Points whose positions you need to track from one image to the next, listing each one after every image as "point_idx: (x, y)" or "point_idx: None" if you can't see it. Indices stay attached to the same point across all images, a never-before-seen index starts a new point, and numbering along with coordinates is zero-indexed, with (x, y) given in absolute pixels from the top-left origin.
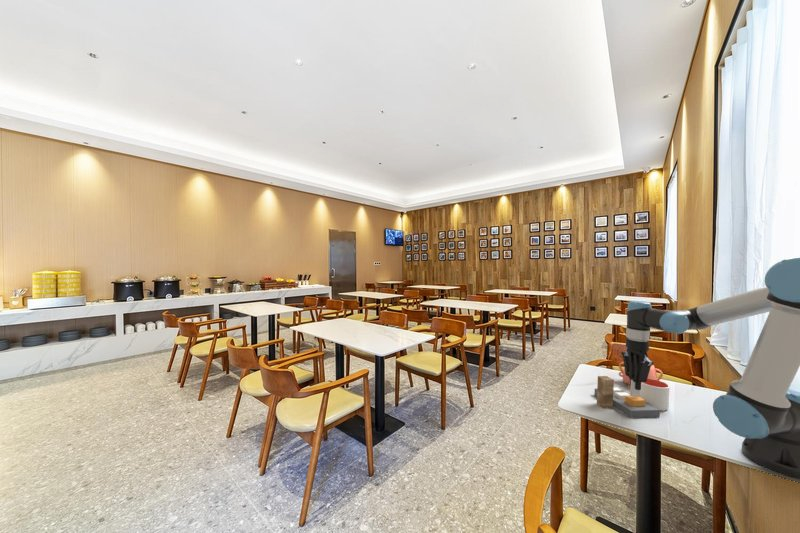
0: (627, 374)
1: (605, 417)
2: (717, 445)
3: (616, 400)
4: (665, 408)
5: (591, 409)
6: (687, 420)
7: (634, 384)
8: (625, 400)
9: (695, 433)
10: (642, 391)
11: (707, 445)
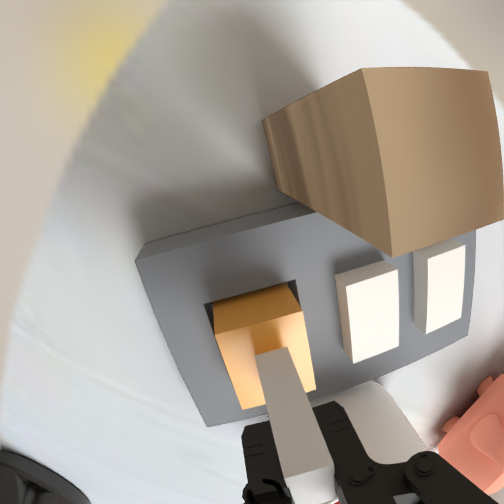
0: (413, 478)
1: (120, 74)
2: (42, 439)
3: (306, 232)
4: None
5: (227, 28)
6: (210, 466)
7: (278, 452)
8: (289, 294)
9: (97, 437)
10: (358, 434)
11: (23, 414)
